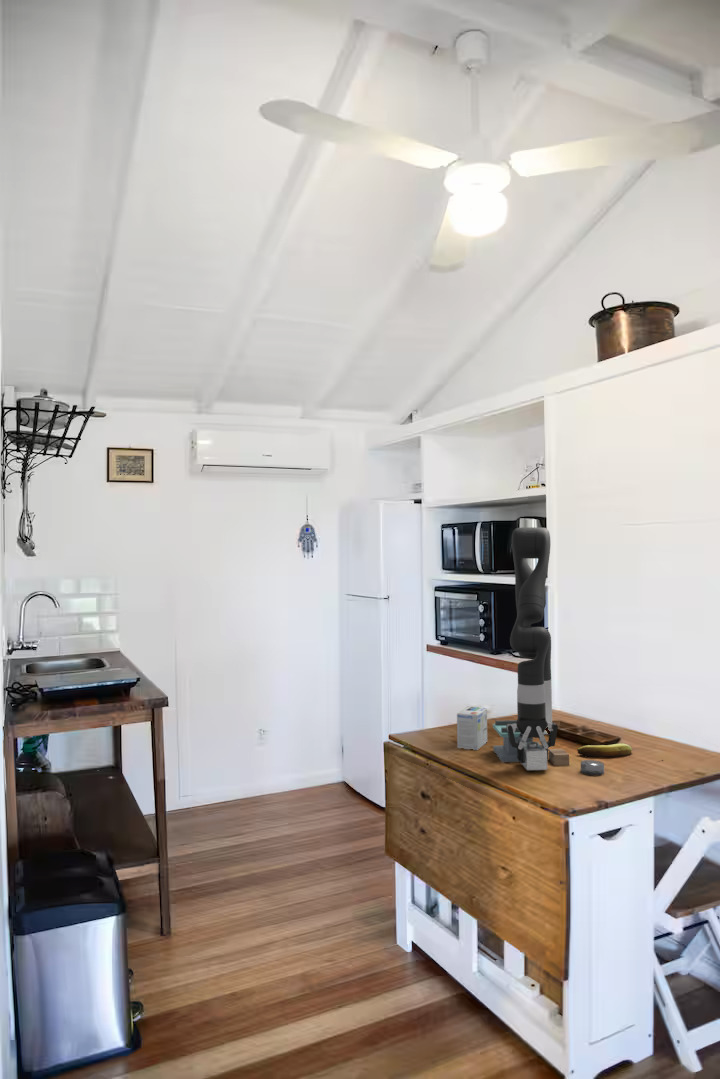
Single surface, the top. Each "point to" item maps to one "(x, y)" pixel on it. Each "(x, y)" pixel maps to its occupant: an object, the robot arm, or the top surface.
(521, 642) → the robot arm
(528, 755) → the block
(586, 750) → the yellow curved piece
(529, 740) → the stand
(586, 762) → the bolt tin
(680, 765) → the top surface
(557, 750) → the wood offcut
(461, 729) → the light bulb box
